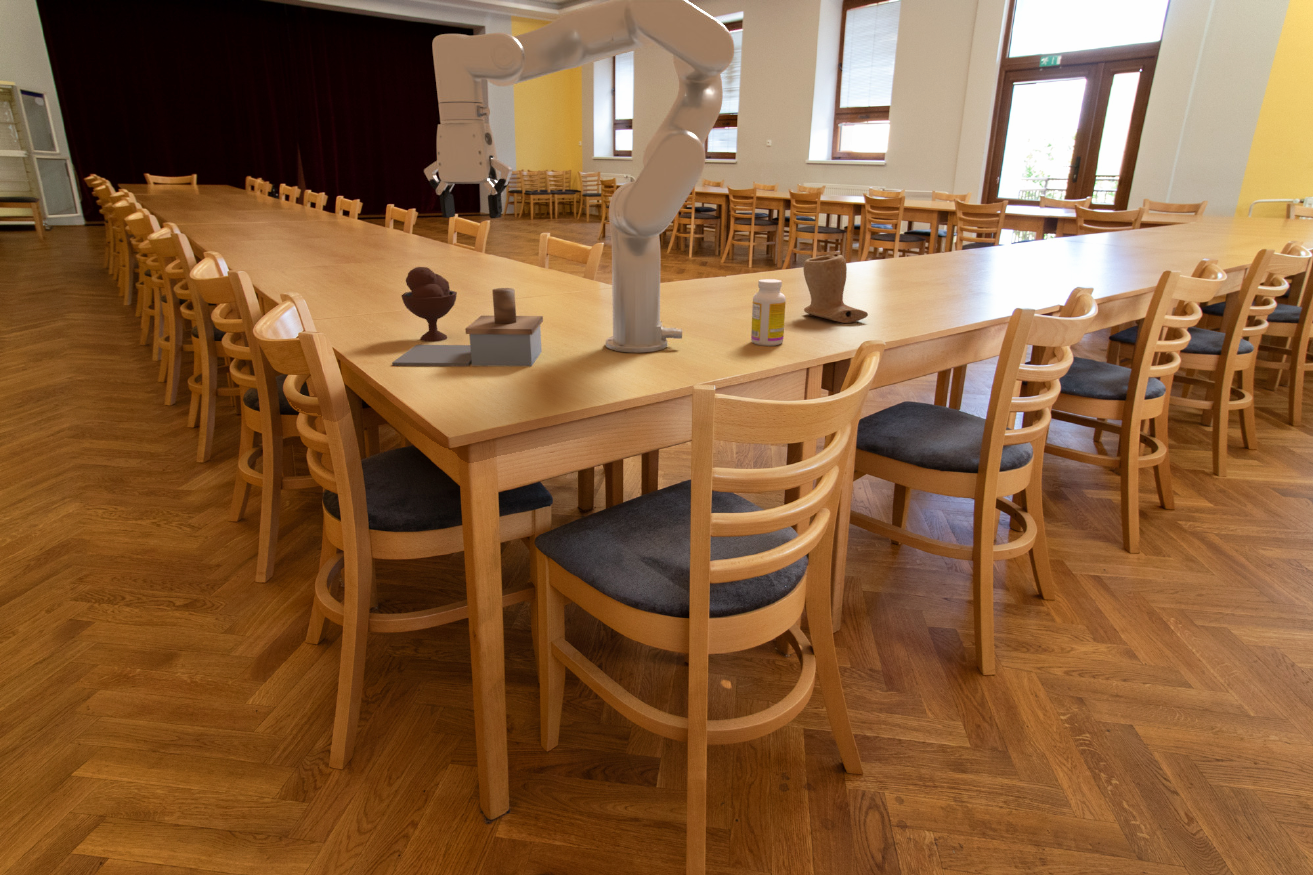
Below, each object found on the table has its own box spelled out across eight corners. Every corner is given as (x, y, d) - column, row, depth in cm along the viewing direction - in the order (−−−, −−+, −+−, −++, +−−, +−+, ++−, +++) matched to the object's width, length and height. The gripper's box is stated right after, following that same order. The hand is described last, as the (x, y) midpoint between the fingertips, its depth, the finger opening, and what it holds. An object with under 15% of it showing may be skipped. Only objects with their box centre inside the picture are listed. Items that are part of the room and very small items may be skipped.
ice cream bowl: (446, 345, 150) (439, 270, 145) (396, 343, 152) (387, 269, 147) (469, 334, 160) (463, 264, 155) (422, 332, 162) (414, 262, 157)
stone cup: (790, 314, 183) (795, 252, 178) (831, 311, 187) (837, 250, 182) (825, 327, 170) (830, 260, 164) (868, 323, 174) (875, 258, 168)
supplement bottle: (786, 341, 156) (791, 279, 151) (777, 348, 150) (782, 284, 146) (756, 338, 158) (759, 277, 154) (746, 344, 153) (749, 281, 148)
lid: (543, 321, 144) (541, 284, 142) (532, 334, 133) (530, 295, 131) (481, 320, 144) (478, 284, 142) (465, 334, 133) (462, 295, 131)
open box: (541, 351, 146) (540, 321, 144) (531, 366, 136) (529, 334, 134) (486, 351, 146) (483, 321, 144) (471, 365, 136) (469, 333, 134)
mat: (486, 348, 148) (486, 345, 148) (468, 366, 135) (468, 363, 135) (417, 347, 149) (416, 344, 148) (392, 365, 136) (392, 362, 135)
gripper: (516, 114, 130) (524, 216, 136) (431, 117, 135) (442, 215, 141) (495, 112, 123) (504, 219, 129) (406, 116, 128) (419, 218, 134)
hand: (472, 217), depth 135 cm, fingers open, 9 cm apart
